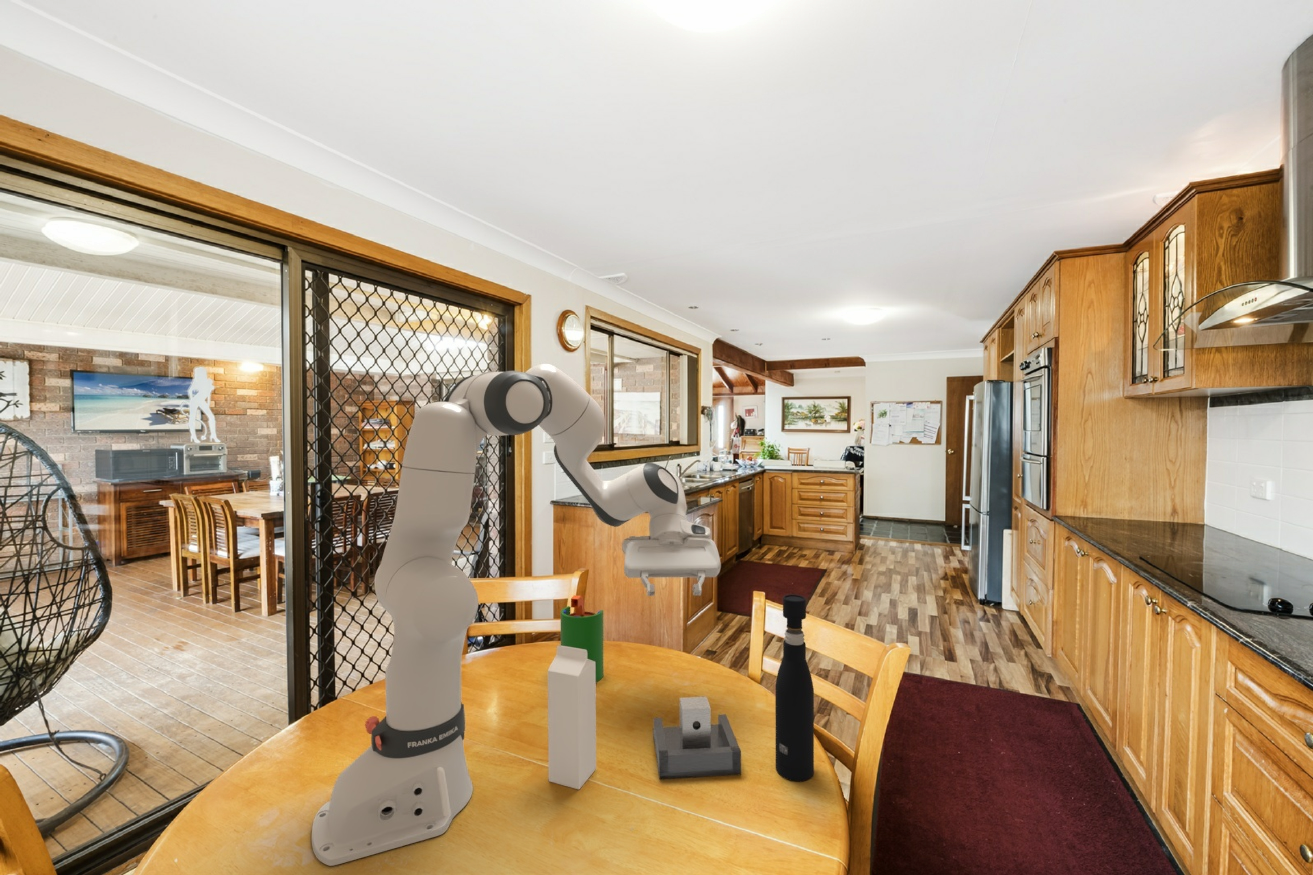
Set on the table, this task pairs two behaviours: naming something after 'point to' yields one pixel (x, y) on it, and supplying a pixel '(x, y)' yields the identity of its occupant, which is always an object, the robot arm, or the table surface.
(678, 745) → the bracket
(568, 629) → the green pencil holder
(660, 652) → the table surface
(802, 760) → the black water bottle
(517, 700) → the table surface
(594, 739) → the milk
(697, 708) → the block
